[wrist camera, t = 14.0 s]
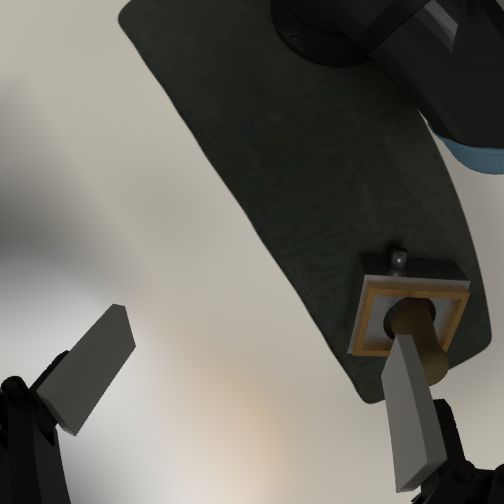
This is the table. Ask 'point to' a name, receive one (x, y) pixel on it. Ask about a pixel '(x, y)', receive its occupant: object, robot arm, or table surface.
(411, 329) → the cork
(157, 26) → the table surface
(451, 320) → the grey box with hole
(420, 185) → the table surface
